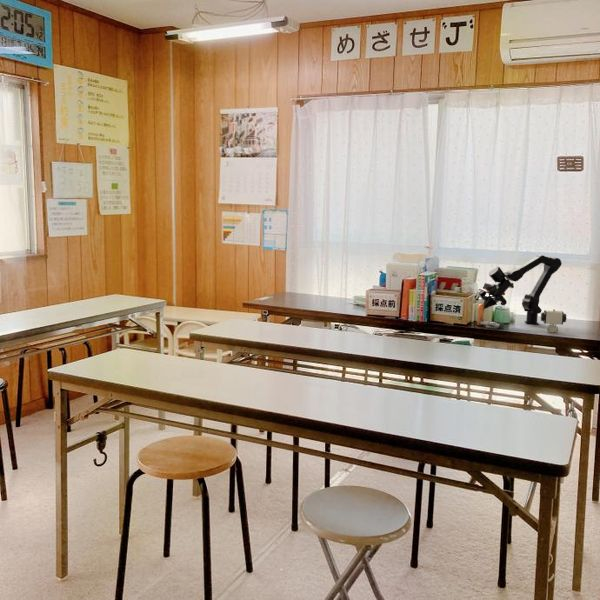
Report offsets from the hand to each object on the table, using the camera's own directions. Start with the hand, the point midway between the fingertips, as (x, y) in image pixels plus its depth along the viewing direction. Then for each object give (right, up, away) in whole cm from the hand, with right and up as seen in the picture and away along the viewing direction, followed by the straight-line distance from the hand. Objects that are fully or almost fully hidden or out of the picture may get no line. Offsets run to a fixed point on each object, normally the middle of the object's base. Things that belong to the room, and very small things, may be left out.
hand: (482, 309), depth 336 cm
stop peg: (+8, -10, -6) cm, 14 cm away
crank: (+2, -9, -4) cm, 10 cm away
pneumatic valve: (+32, -12, -15) cm, 37 cm away
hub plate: (+3, -10, -6) cm, 12 cm away
